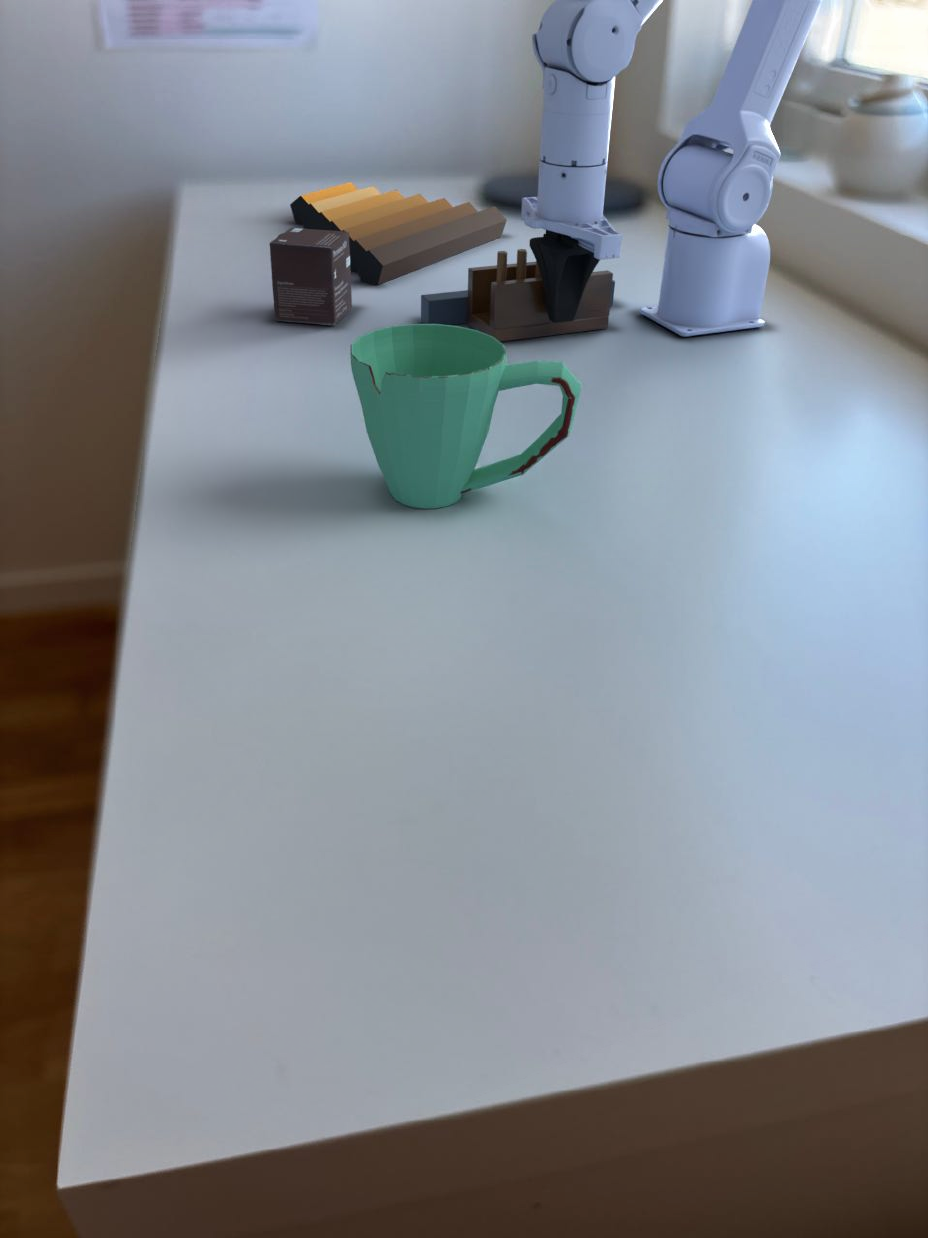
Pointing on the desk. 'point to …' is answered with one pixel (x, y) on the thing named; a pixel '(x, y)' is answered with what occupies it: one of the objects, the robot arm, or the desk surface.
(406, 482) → the mug
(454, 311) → the rail
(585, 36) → the robot arm
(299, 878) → the desk surface
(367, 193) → the ridged wooden panel
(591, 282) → the rack
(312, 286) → the box
